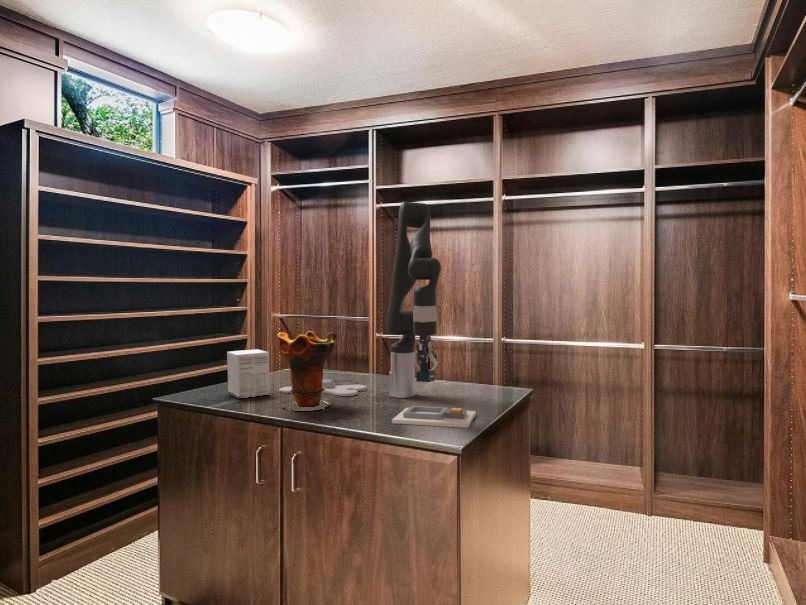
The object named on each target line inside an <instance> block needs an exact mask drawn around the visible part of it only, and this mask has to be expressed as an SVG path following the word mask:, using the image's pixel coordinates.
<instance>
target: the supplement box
mask: <svg viewBox="0 0 806 605" xmlns="http://www.w3.org/2000/svg"><path fill="white" fill-rule="evenodd" d="M226 356H227V357H226V359H227V360H226V361H227V363H226V364H227V365H226V366H227V392H228V391H229V392H231V393H233V394H235V395H236V396H238V397H239V396H248V395H258V394H266V393H271V392H270V390H271V389H270V388H271V387H270V382H271V381H270V379H271V378H270V352H269V351H265V350H261V349H259V348H256V349H244V350H233V351H227V352H226Z"/></svg>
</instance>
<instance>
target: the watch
mask: <svg viewBox="0 0 806 605" xmlns="http://www.w3.org/2000/svg"><path fill="white" fill-rule="evenodd" d="M428 356H429V358H430V359H431V360H430V361H432V363H433V366H432V368H431V369H430V370H428V372H421V362H420V361H418V353H417V350H416V351H414V365H415V366H416V368H417V369H418V370H419V371H416V377H415V378H416V379H415V380H416V381H415V382H420V383H432V382H435V380H436V378H435V376H436V371H434V370H435V369H436V368H437V366H438V364H439V360H440V359H439V355H438V353H437V352H436V350H435V349H434V347H433V348H430V351H429V355H428Z"/></svg>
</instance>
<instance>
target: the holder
mask: <svg viewBox="0 0 806 605" xmlns="http://www.w3.org/2000/svg"><path fill="white" fill-rule="evenodd" d="M322 388H323V389H324V390H325V391H322V392H326V393H331V394H335V395H340V396H353V395H357V394H358V395H359V392H358V391H363V392H365V391H364V390H366V391H367V390H368V387H367V385H364V384H350V385H348V384H347V385H346V384H345V385H336V382H335V380H334V379H326V378H325V379H324V378H323V380H322ZM291 389H292V387H291V386H284V387H280V388H279V389H278V392H279V391H283V392H291ZM358 395H357V396H358ZM353 397H354V396H353Z"/></svg>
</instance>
